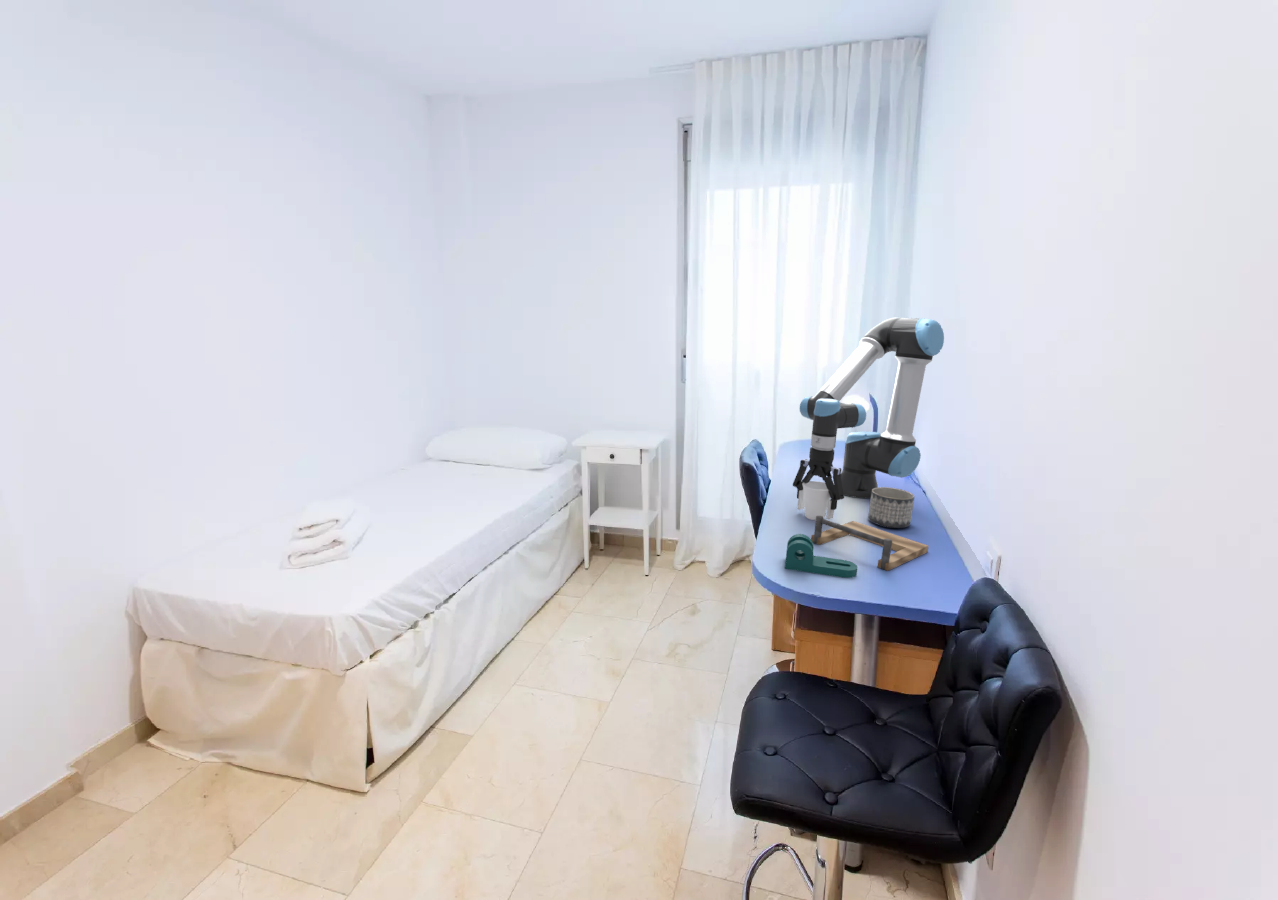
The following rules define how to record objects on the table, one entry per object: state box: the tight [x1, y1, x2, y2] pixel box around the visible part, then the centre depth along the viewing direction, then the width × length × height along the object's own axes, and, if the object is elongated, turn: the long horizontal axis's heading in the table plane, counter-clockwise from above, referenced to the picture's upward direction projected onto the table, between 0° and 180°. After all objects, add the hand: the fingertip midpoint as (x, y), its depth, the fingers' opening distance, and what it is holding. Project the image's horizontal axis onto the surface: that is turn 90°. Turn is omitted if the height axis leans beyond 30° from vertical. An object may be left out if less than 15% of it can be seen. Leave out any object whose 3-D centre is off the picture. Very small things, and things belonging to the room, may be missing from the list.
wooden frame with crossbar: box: [810, 516, 930, 572], centre depth 173 cm, size 22×24×8 cm
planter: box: [867, 486, 916, 529], centre depth 193 cm, size 13×13×10 cm
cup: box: [802, 480, 831, 521], centre depth 196 cm, size 10×10×11 cm
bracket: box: [784, 533, 858, 579], centre depth 157 cm, size 18×7×8 cm, turn 74°
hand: (814, 513), depth 197 cm, fingers open, 10 cm apart
